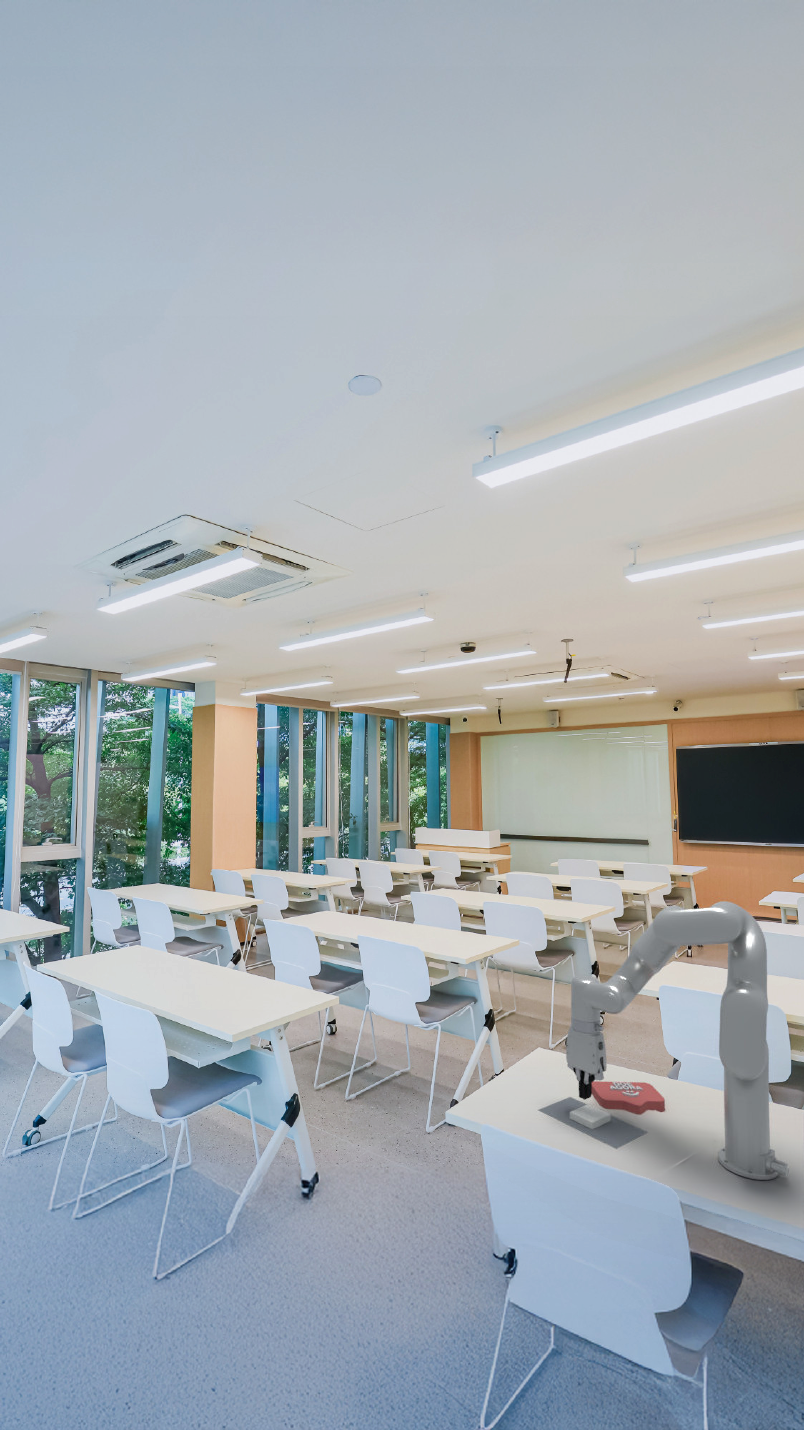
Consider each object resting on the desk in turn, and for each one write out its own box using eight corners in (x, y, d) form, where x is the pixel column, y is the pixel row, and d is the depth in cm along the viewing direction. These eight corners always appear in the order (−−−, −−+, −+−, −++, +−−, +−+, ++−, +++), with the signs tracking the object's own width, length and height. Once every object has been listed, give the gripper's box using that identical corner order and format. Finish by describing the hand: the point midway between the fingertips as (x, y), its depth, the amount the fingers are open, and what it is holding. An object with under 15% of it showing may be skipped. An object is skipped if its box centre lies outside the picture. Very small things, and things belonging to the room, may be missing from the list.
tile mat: (647, 1134, 171) (647, 1132, 171) (616, 1150, 162) (616, 1148, 162) (570, 1098, 189) (570, 1096, 189) (537, 1111, 181) (538, 1110, 181)
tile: (610, 1114, 176) (588, 1104, 181) (592, 1122, 171) (569, 1112, 176) (610, 1121, 176) (588, 1110, 181) (592, 1129, 171) (569, 1118, 176)
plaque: (606, 1102, 180) (588, 1079, 195) (606, 1117, 180) (588, 1093, 195) (671, 1103, 181) (649, 1080, 196) (671, 1119, 180) (649, 1094, 195)
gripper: (618, 1030, 177) (618, 1104, 174) (571, 1014, 188) (570, 1083, 186) (601, 1036, 172) (601, 1112, 170) (554, 1019, 183) (553, 1090, 181)
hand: (585, 1097), depth 178 cm, fingers closed
